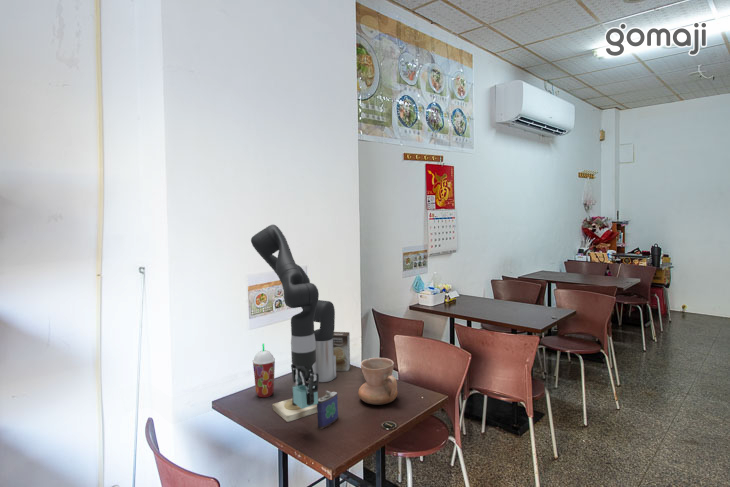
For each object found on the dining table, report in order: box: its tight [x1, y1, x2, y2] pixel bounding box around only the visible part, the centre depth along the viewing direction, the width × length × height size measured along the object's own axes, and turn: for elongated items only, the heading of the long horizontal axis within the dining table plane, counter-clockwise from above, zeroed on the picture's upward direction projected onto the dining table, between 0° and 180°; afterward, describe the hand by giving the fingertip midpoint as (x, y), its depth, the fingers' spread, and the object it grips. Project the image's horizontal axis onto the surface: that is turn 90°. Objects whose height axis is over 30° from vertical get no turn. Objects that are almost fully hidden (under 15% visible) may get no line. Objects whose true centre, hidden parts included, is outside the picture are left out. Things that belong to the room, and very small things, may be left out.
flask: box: [316, 390, 339, 430], centre depth 140 cm, size 9×3×11 cm, turn 144°
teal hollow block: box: [293, 384, 319, 409], centre depth 132 cm, size 6×6×5 cm
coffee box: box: [333, 331, 351, 372], centre depth 190 cm, size 9×6×16 cm
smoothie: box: [252, 343, 276, 398], centre depth 163 cm, size 8×8×20 cm
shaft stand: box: [272, 384, 317, 423], centre depth 149 cm, size 12×12×9 cm
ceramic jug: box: [357, 357, 399, 406], centre depth 155 cm, size 18×14×14 cm
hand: (305, 400), depth 132 cm, fingers closed on teal hollow block, 5 cm apart
